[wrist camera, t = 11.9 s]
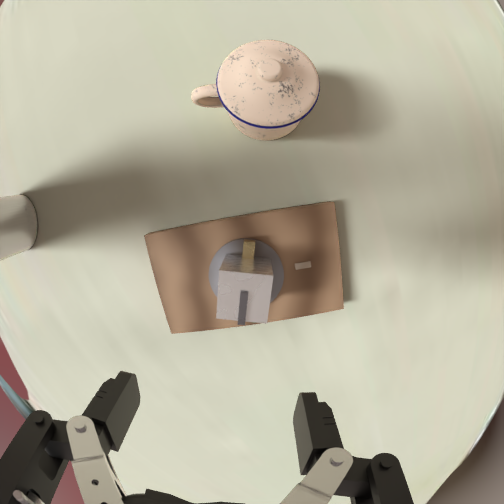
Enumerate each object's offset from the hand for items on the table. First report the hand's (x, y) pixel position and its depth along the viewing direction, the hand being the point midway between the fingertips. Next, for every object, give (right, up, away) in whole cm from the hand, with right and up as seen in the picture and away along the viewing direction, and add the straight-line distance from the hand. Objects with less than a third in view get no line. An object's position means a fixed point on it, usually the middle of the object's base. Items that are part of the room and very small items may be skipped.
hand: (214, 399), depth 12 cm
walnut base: (+1, +5, +22) cm, 22 cm away
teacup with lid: (+2, +24, +17) cm, 30 cm away
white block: (+1, +4, +19) cm, 19 cm away
